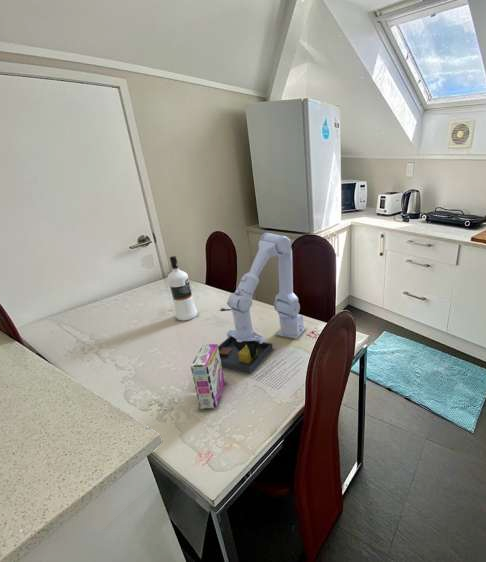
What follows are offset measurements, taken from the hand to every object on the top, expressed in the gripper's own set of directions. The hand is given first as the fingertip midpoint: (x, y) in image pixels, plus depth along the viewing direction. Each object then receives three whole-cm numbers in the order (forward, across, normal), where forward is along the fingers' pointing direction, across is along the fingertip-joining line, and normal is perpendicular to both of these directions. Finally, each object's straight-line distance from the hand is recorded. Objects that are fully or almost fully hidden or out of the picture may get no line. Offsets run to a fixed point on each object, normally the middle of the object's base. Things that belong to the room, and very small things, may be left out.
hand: (248, 355), depth 117 cm
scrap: (+1, -10, 0) cm, 10 cm away
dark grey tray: (+2, -4, 0) cm, 4 cm away
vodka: (+2, -47, +19) cm, 50 cm away
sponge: (+1, 0, 0) cm, 1 cm away
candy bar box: (+2, 0, -20) cm, 20 cm away
